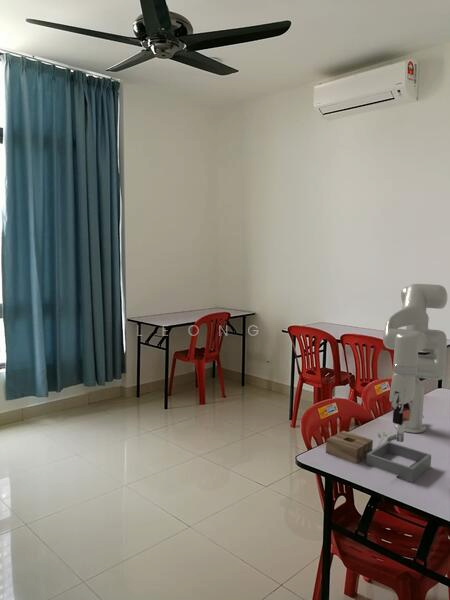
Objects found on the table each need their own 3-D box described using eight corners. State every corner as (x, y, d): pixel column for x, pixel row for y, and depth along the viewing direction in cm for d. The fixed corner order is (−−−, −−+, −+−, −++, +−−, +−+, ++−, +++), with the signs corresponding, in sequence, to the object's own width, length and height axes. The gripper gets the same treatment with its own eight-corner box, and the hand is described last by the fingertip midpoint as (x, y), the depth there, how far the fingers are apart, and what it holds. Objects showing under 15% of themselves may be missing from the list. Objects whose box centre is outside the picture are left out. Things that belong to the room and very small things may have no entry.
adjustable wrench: (380, 458, 174) (380, 453, 174) (362, 454, 177) (363, 449, 177) (396, 435, 195) (397, 431, 195) (380, 432, 198) (381, 428, 198)
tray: (386, 452, 178) (387, 441, 177) (430, 467, 167) (431, 454, 166) (365, 466, 166) (366, 453, 166) (411, 482, 155) (412, 469, 155)
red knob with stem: (395, 436, 169) (398, 406, 168) (410, 440, 165) (412, 409, 164) (389, 440, 165) (391, 409, 164) (404, 444, 161) (406, 413, 160)
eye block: (342, 445, 183) (343, 430, 182) (371, 455, 175) (372, 440, 174) (325, 455, 174) (326, 439, 174) (355, 466, 166) (356, 449, 165)
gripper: (404, 363, 171) (401, 413, 173) (382, 371, 159) (379, 424, 161) (425, 367, 166) (422, 418, 168) (405, 376, 154) (401, 431, 156)
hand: (401, 421), depth 164 cm, fingers closed on red knob with stem, 5 cm apart
